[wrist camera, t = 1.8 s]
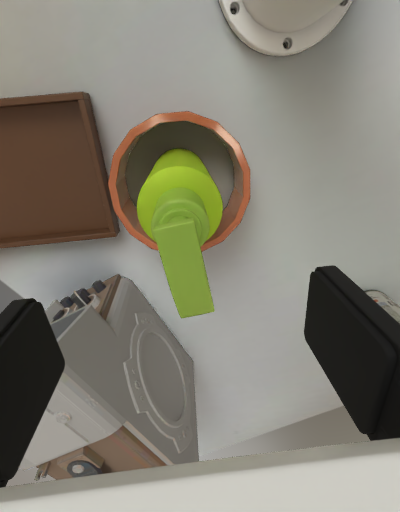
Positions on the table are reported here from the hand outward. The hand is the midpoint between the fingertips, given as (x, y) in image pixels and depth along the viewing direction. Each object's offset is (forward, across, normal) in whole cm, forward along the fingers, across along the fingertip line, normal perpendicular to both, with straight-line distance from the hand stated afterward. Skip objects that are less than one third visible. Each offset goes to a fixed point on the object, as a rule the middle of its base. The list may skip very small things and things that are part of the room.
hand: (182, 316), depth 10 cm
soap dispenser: (+24, 0, 0) cm, 24 cm away
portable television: (+24, +10, +20) cm, 33 cm away
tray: (+24, +17, -2) cm, 29 cm away
